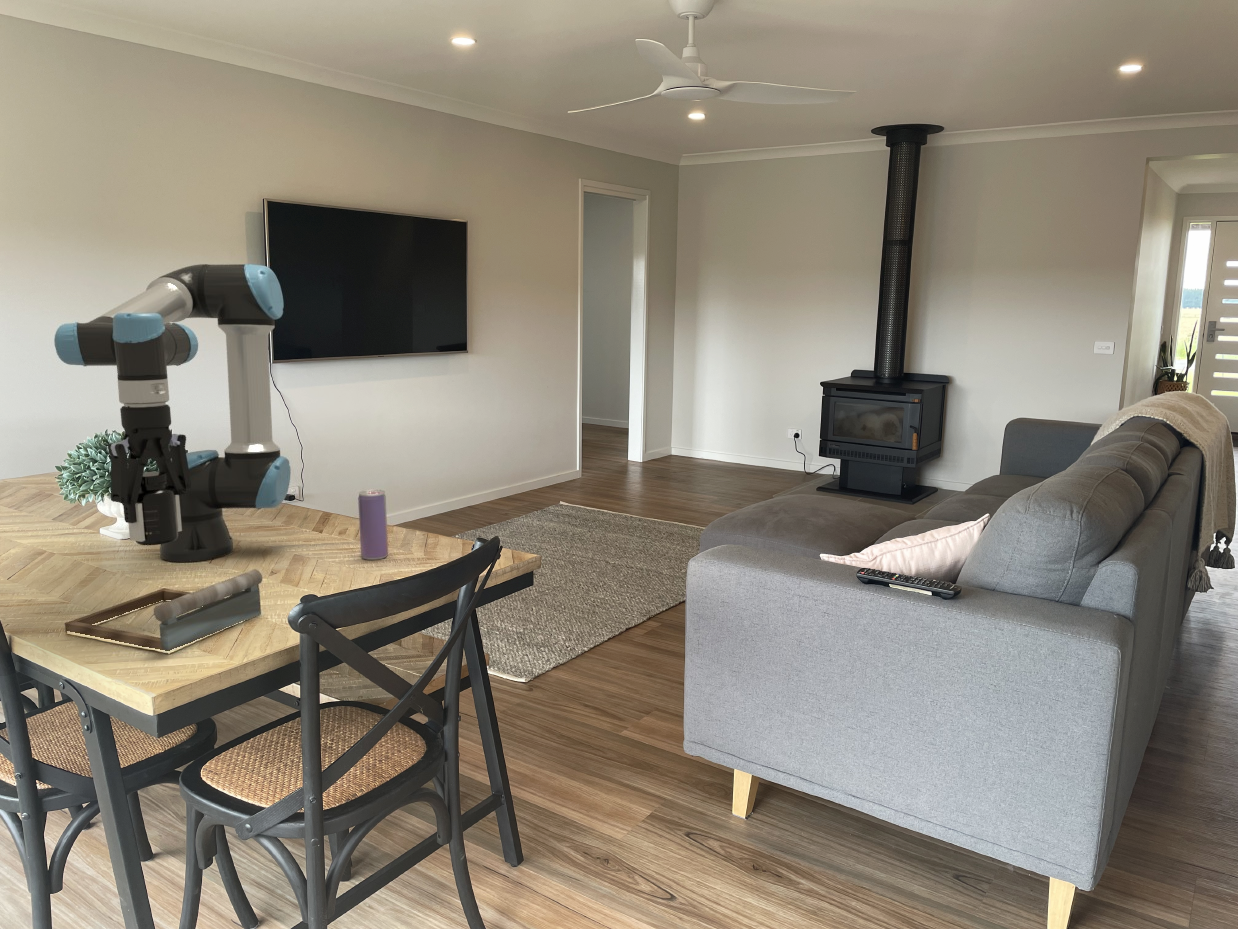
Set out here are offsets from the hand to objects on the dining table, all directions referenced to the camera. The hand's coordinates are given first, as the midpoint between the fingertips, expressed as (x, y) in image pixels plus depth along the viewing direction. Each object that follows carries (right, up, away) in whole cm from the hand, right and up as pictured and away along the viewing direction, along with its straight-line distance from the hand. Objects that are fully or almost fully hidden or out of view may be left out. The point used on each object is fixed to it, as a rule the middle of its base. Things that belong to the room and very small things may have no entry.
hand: (156, 535), depth 154 cm
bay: (0, -16, +3) cm, 17 cm away
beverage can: (+26, -9, +45) cm, 53 cm away
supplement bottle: (0, -1, 0) cm, 1 cm away
